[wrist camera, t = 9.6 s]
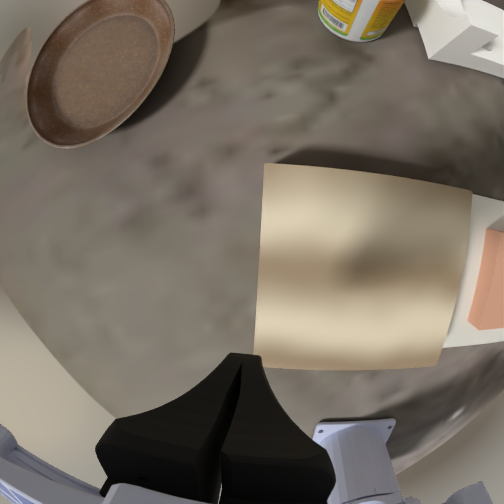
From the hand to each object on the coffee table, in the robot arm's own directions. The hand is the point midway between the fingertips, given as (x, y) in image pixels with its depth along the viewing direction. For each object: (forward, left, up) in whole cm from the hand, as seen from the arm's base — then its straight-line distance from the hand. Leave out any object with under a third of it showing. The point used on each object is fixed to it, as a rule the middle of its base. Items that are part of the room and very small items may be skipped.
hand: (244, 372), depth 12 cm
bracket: (+24, -18, -10) cm, 31 cm away
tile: (+2, -21, -8) cm, 23 cm away
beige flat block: (+2, -7, -9) cm, 12 cm away
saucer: (+18, +14, -10) cm, 25 cm away
